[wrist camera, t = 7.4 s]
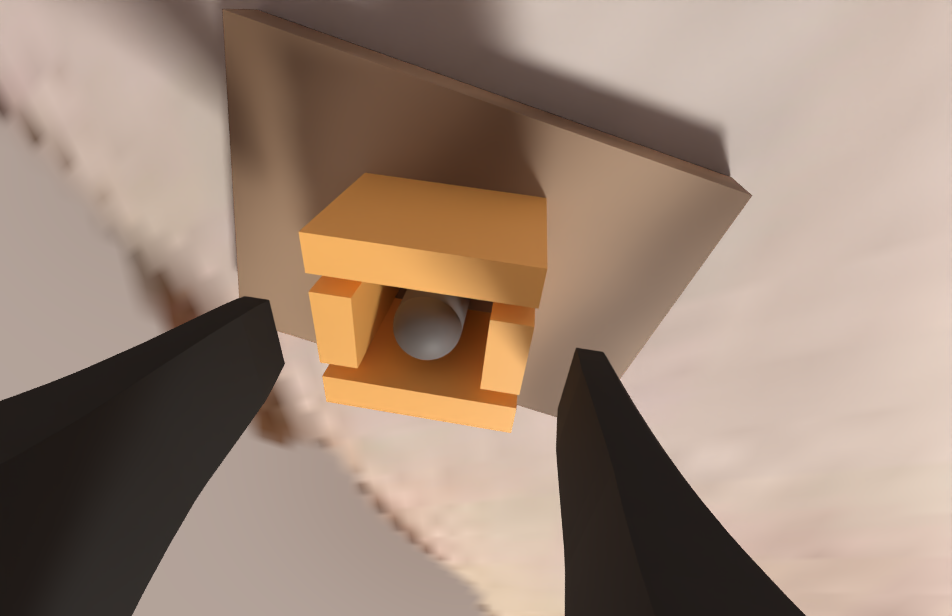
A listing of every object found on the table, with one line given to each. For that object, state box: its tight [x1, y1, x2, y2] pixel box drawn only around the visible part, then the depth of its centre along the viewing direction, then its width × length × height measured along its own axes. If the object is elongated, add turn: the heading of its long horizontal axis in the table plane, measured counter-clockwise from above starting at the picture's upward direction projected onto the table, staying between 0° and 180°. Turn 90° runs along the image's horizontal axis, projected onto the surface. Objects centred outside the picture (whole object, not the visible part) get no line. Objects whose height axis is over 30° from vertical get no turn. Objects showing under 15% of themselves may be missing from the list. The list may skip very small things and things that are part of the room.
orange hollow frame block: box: [299, 173, 548, 433], centre depth 12 cm, size 5×5×4 cm
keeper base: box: [222, 9, 752, 417], centre depth 12 cm, size 14×10×5 cm
